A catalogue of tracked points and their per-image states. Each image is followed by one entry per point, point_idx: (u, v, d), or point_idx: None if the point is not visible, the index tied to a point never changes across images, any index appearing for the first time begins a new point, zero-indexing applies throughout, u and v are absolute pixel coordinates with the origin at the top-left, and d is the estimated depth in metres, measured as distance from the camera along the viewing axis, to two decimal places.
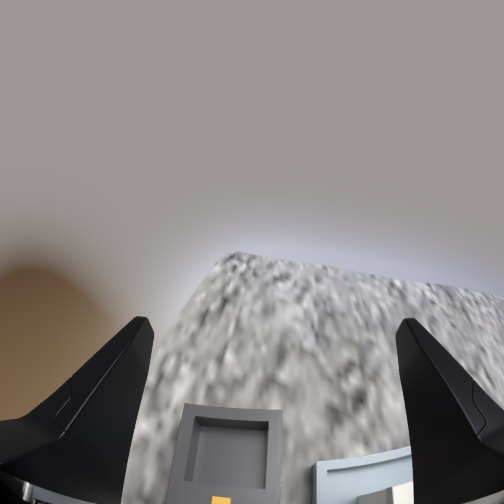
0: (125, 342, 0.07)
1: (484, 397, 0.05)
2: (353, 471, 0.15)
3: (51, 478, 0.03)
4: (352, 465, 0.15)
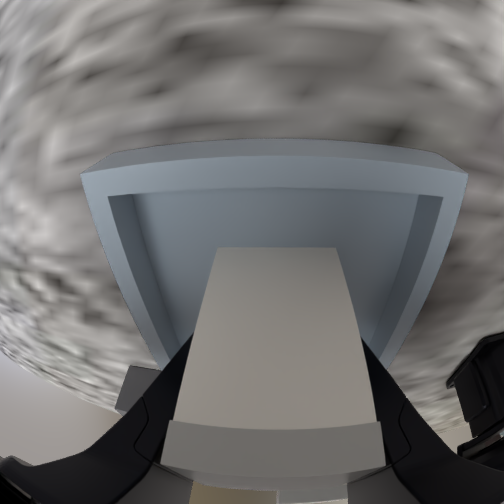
0: None
1: (418, 419, 0.05)
2: (177, 325, 0.12)
3: None
4: (165, 354, 0.11)
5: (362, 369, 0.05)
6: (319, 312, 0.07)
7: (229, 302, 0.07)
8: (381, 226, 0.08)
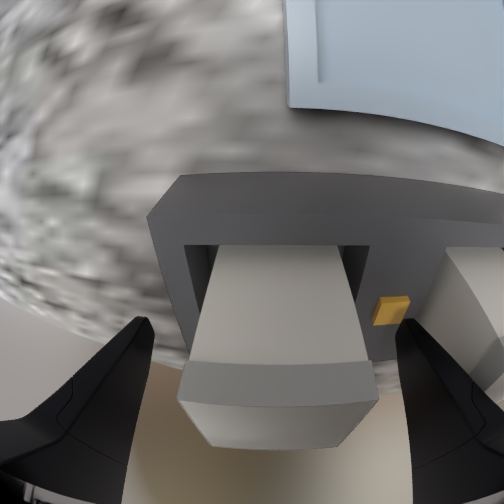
0: (126, 342, 0.07)
1: (483, 397, 0.05)
2: (317, 18, 0.06)
3: (52, 478, 0.03)
4: (313, 22, 0.05)
5: (353, 318, 0.06)
6: (315, 274, 0.08)
7: (237, 266, 0.08)
8: None
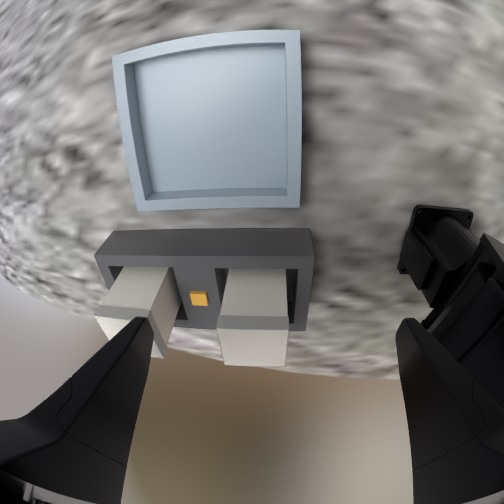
0: (125, 342, 0.07)
1: (484, 397, 0.05)
2: (150, 160, 0.17)
3: (51, 478, 0.03)
4: (138, 174, 0.16)
5: (154, 295, 0.17)
6: (152, 278, 0.19)
7: (127, 274, 0.19)
8: (264, 73, 0.14)
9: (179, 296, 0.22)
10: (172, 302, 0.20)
